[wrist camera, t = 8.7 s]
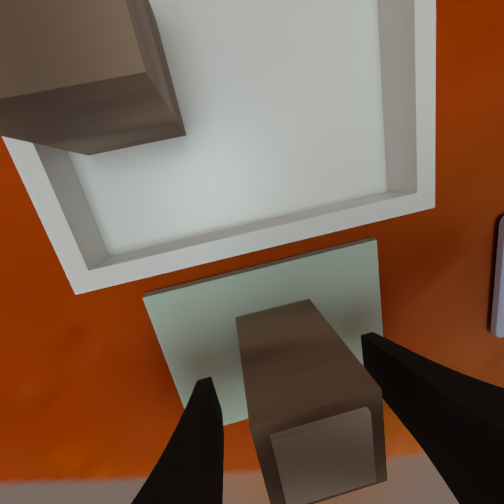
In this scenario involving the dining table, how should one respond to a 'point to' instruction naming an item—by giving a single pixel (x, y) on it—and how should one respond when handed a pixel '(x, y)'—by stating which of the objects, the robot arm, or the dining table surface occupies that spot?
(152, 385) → the dining table surface
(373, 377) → the robot arm
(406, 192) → the parts tray
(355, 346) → the sage mat
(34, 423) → the dining table surface
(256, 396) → the labelled block
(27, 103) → the plain block
